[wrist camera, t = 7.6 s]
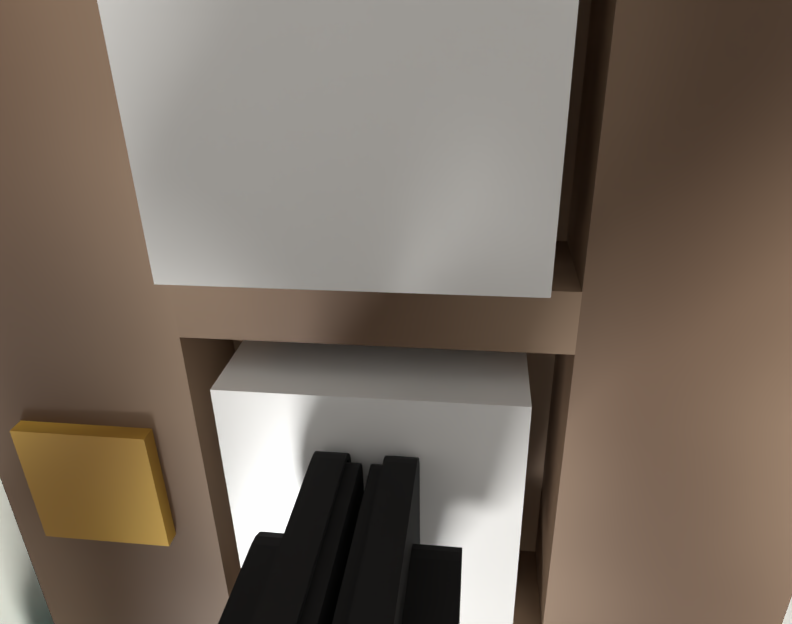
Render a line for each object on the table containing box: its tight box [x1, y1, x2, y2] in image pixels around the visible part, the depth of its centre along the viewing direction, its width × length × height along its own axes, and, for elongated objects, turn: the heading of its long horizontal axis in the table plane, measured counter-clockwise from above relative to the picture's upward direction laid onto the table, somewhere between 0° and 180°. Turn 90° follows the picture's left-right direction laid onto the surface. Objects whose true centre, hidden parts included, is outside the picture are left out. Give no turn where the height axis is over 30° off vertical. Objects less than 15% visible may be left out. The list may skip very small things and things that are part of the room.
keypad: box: [0, 0, 792, 624], centre depth 10 cm, size 14×24×5 cm, turn 2°
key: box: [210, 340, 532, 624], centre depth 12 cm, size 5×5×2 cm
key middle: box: [97, 0, 579, 298], centre depth 8 cm, size 5×5×2 cm
